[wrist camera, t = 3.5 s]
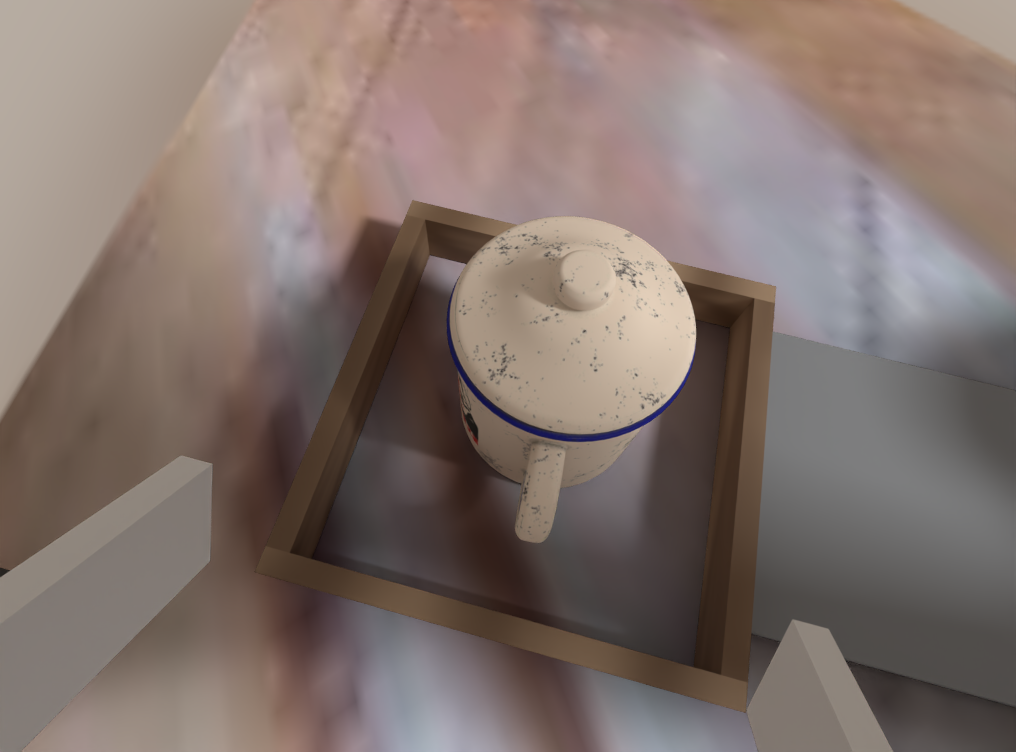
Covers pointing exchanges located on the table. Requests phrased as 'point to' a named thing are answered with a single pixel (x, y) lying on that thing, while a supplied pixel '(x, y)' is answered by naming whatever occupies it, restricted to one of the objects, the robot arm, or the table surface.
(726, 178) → the table surface
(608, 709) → the table surface
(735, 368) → the wooden frame
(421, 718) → the table surface
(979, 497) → the rubber mat
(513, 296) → the teacup with lid
